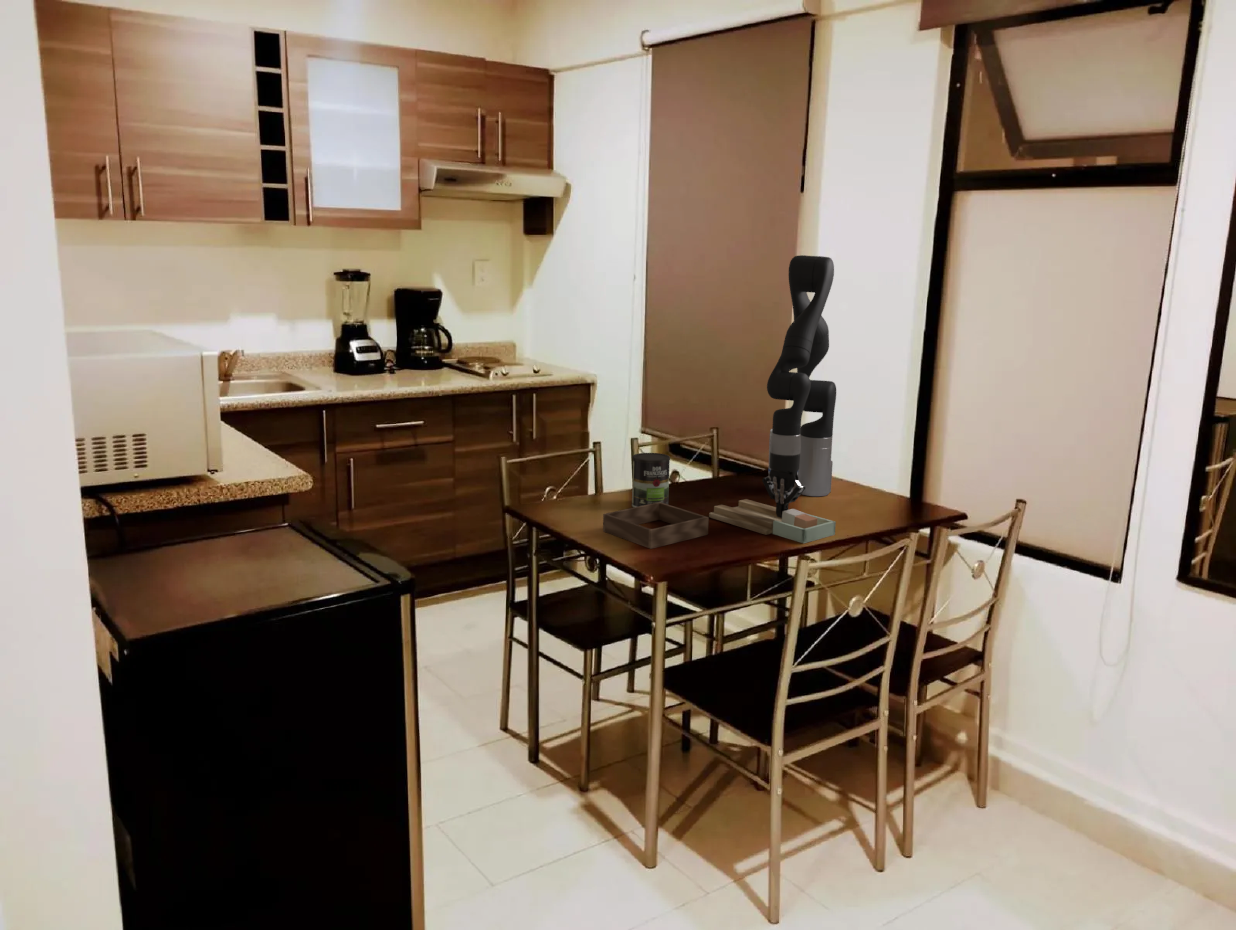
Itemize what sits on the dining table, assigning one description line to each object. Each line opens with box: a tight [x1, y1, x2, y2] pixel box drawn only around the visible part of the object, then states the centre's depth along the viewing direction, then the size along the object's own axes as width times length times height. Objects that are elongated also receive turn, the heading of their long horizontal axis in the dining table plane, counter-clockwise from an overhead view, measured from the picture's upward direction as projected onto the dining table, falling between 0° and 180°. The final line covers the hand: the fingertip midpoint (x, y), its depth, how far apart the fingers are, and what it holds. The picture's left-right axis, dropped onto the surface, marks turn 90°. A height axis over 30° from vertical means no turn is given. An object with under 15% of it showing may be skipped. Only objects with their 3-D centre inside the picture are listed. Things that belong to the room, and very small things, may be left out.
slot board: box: [708, 498, 782, 535], centre depth 249 cm, size 16×20×3 cm
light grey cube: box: [782, 508, 806, 526], centre depth 239 cm, size 4×4×4 cm
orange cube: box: [794, 513, 818, 529], centre depth 236 cm, size 4×4×4 cm
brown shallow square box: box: [602, 502, 710, 549], centre depth 236 cm, size 19×18×4 cm
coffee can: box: [631, 452, 671, 508], centre depth 260 cm, size 10×10×14 cm
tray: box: [772, 512, 837, 544], centre depth 237 cm, size 12×10×3 cm
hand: (781, 516), depth 242 cm, fingers closed
